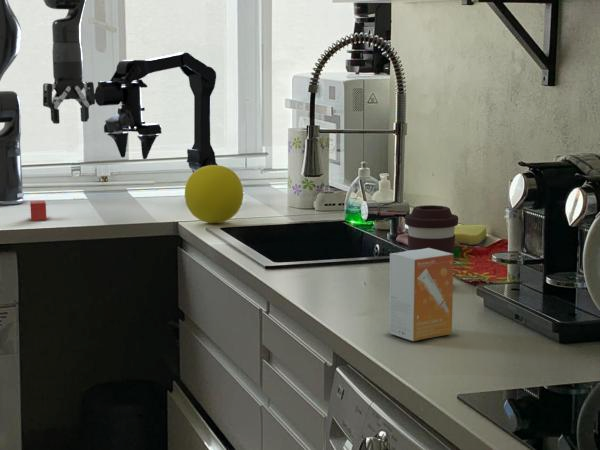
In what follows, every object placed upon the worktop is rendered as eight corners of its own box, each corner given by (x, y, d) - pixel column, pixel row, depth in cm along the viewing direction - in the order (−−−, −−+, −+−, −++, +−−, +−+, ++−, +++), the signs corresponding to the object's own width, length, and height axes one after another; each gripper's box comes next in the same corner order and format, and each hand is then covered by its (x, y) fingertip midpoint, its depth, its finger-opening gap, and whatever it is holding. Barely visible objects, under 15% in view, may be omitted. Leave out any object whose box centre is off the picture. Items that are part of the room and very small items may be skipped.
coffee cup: (400, 280, 202) (400, 204, 200) (450, 279, 203) (451, 203, 201) (409, 292, 193) (410, 212, 190) (462, 291, 193) (463, 211, 191)
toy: (233, 216, 283) (232, 161, 280) (250, 224, 269) (249, 166, 266) (179, 219, 278) (177, 163, 275) (194, 228, 264) (192, 169, 261)
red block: (31, 220, 280) (30, 203, 279) (31, 218, 284) (30, 201, 283) (46, 220, 281) (45, 203, 280) (46, 217, 285) (45, 200, 284)
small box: (413, 342, 160) (414, 259, 158) (387, 333, 165) (388, 252, 163) (453, 334, 164) (454, 253, 162) (427, 325, 170) (428, 246, 168)
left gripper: (83, 59, 279) (85, 120, 282) (35, 60, 270) (38, 123, 272) (98, 59, 274) (101, 121, 277) (51, 60, 264) (54, 124, 267)
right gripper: (88, 105, 300) (91, 159, 302) (132, 106, 288) (135, 162, 291) (117, 102, 308) (120, 155, 311) (161, 104, 297) (164, 158, 299)
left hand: (70, 122), depth 275 cm, fingers open, 8 cm apart
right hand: (133, 158), depth 303 cm, fingers open, 9 cm apart
